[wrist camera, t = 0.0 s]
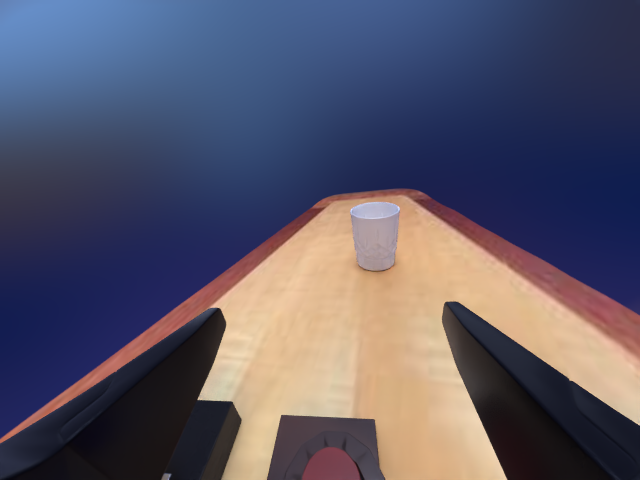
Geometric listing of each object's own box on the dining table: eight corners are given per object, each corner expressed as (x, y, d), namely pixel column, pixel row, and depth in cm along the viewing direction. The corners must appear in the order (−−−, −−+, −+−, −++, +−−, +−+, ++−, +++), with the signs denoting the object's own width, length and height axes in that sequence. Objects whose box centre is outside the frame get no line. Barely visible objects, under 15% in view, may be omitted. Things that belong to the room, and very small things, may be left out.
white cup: (345, 260, 43) (341, 210, 39) (376, 246, 47) (375, 199, 42) (374, 279, 37) (373, 222, 33) (407, 261, 40) (410, 208, 36)
